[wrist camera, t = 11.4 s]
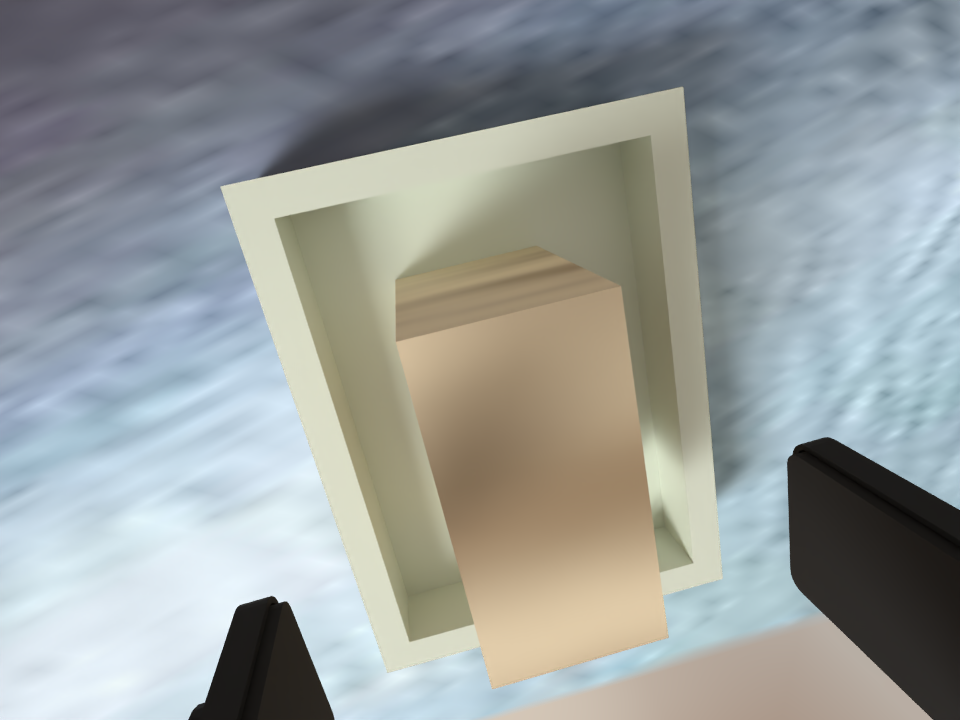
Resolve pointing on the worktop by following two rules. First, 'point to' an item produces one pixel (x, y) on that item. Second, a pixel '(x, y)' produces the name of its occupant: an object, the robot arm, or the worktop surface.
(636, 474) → the block
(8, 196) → the worktop surface
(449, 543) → the tray
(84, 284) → the worktop surface
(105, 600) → the worktop surface
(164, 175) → the worktop surface
